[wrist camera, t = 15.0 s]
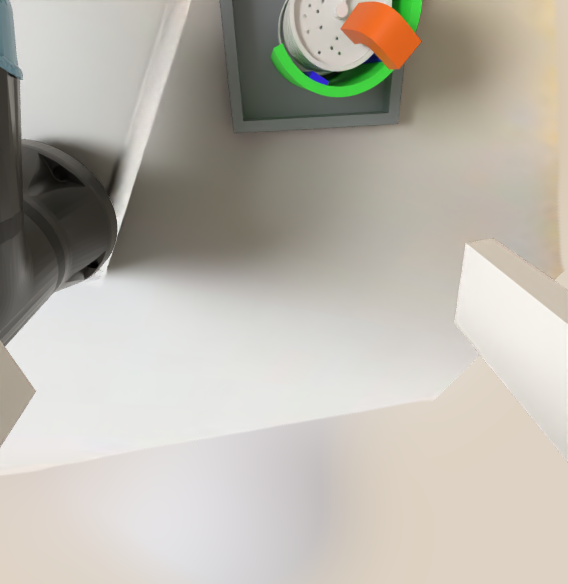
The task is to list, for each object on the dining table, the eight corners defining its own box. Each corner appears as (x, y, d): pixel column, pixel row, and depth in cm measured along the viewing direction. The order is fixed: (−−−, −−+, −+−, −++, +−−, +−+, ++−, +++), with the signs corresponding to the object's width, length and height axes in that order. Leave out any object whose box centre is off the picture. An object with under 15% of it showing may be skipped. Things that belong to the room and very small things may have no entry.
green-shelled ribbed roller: (308, -51, 31) (358, -174, 15) (385, 7, 33) (496, -47, 18) (258, 62, 35) (259, 56, 19) (330, 107, 37) (382, 134, 22)
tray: (235, 129, 38) (233, 133, 36) (213, -86, 30) (208, -100, 27) (388, 120, 39) (397, 123, 36) (408, -94, 30) (422, -108, 28)
